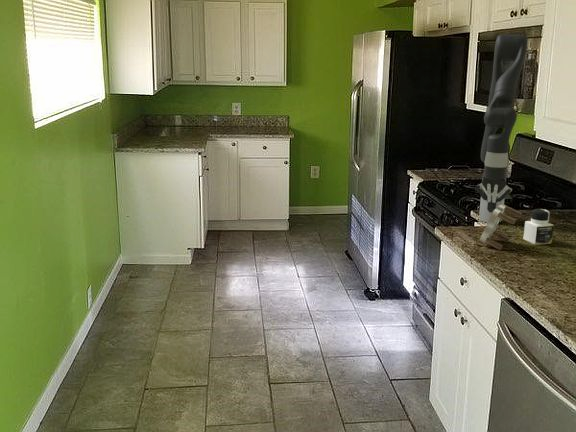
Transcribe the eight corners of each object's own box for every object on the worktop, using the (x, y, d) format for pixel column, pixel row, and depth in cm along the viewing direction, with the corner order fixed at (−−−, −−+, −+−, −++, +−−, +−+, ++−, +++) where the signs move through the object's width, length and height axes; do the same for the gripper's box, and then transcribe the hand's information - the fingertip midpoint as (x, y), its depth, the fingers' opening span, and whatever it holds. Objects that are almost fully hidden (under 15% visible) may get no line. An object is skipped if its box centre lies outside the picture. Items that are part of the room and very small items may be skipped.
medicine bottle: (535, 245, 220) (538, 213, 217) (522, 239, 227) (526, 208, 224) (551, 243, 222) (555, 211, 219) (539, 237, 229) (542, 207, 226)
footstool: (487, 231, 228) (501, 203, 223) (508, 241, 224) (522, 213, 219) (479, 239, 218) (493, 210, 213) (500, 250, 215) (515, 220, 210)
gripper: (517, 164, 214) (512, 212, 219) (479, 161, 221) (475, 207, 226) (512, 168, 208) (507, 217, 213) (474, 164, 215) (469, 211, 219)
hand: (491, 212), depth 219 cm, fingers closed
